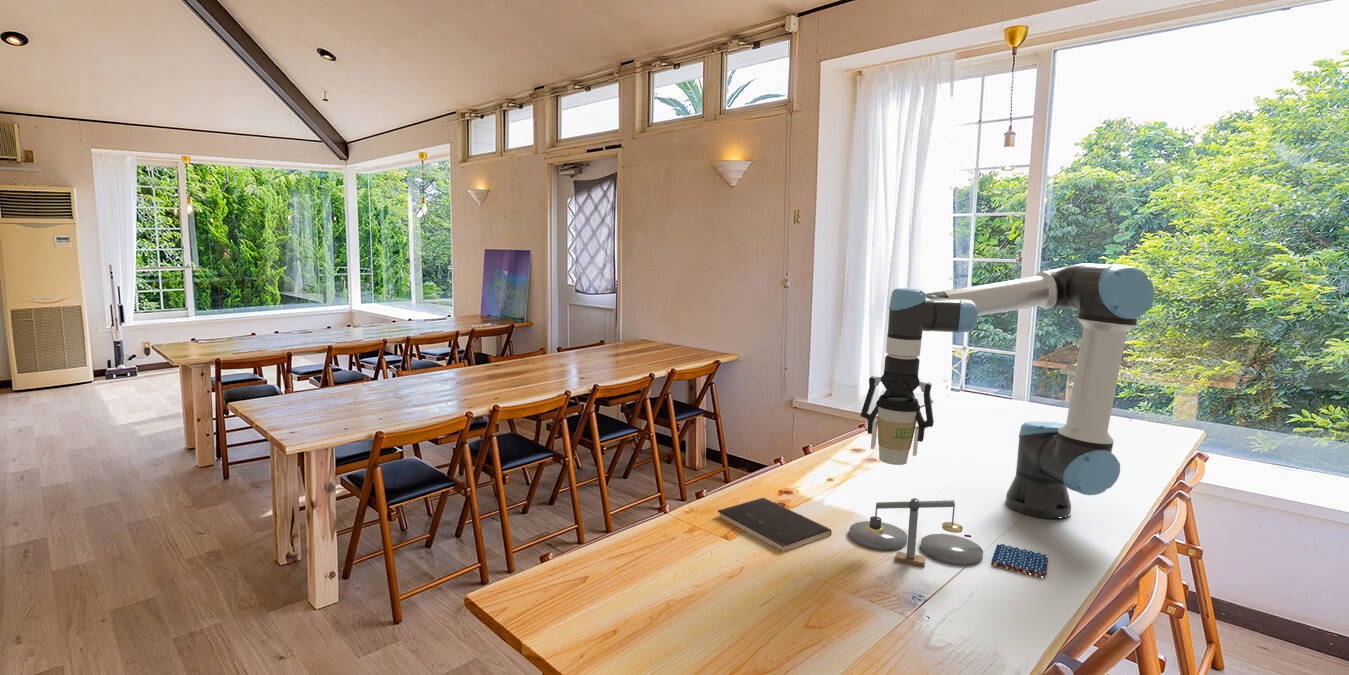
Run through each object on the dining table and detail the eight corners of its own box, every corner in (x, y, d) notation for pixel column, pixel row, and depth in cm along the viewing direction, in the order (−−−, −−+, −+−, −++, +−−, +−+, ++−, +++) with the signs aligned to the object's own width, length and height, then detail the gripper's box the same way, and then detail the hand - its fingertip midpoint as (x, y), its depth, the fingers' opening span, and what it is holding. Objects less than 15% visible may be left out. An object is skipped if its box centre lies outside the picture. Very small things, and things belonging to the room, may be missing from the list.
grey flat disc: (982, 545, 155) (982, 540, 155) (982, 570, 143) (983, 565, 143) (922, 534, 160) (923, 529, 160) (918, 557, 148) (918, 552, 148)
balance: (959, 566, 145) (964, 499, 142) (958, 575, 141) (964, 506, 139) (865, 548, 152) (869, 484, 150) (862, 555, 149) (867, 490, 147)
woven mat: (1045, 582, 140) (1046, 573, 139) (990, 568, 145) (990, 559, 145) (1049, 562, 149) (1050, 553, 148) (996, 549, 154) (997, 541, 154)
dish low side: (909, 532, 161) (909, 527, 161) (904, 554, 150) (904, 549, 149) (854, 521, 167) (854, 517, 166) (845, 543, 155) (845, 538, 155)
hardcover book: (782, 555, 150) (783, 545, 149) (717, 519, 168) (717, 510, 168) (831, 537, 159) (831, 528, 159) (764, 505, 178) (765, 496, 177)
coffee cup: (917, 469, 152) (924, 405, 150) (872, 464, 154) (878, 401, 152) (912, 456, 162) (918, 395, 159) (869, 452, 164) (875, 391, 161)
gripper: (953, 358, 153) (943, 454, 156) (857, 348, 162) (850, 439, 165) (951, 363, 146) (941, 463, 150) (852, 353, 155) (844, 447, 159)
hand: (893, 450), depth 157 cm, fingers closed on coffee cup, 9 cm apart
